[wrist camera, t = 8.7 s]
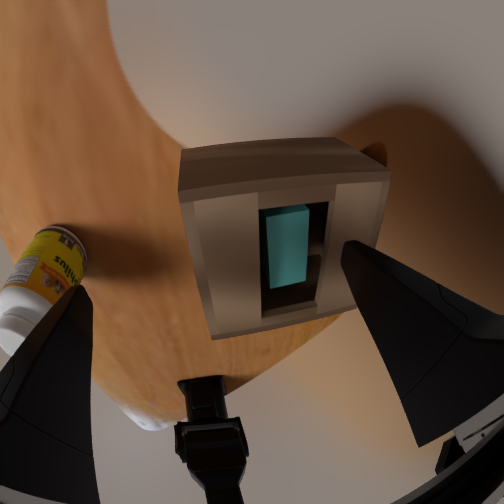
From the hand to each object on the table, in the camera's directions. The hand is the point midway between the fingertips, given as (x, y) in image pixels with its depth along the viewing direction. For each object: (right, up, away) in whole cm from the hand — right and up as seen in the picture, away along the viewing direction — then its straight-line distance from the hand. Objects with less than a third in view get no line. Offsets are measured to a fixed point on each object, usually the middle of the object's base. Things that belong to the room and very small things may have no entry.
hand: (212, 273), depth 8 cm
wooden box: (+2, +4, +12) cm, 13 cm away
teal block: (+2, +4, +12) cm, 13 cm away
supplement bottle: (-15, +1, +10) cm, 18 cm away
